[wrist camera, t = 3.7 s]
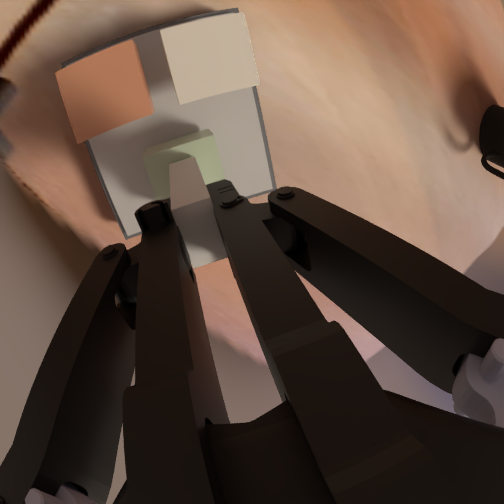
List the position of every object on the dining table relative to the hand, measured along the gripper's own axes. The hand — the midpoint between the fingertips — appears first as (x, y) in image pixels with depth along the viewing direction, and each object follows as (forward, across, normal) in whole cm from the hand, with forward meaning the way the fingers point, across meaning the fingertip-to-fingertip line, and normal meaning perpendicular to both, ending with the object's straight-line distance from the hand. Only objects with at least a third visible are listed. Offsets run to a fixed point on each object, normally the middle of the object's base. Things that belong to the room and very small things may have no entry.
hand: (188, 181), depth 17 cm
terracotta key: (+1, -3, +7) cm, 7 cm away
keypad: (+6, 0, +3) cm, 7 cm away
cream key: (+1, +3, +7) cm, 7 cm away
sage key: (+3, 0, 0) cm, 3 cm away
